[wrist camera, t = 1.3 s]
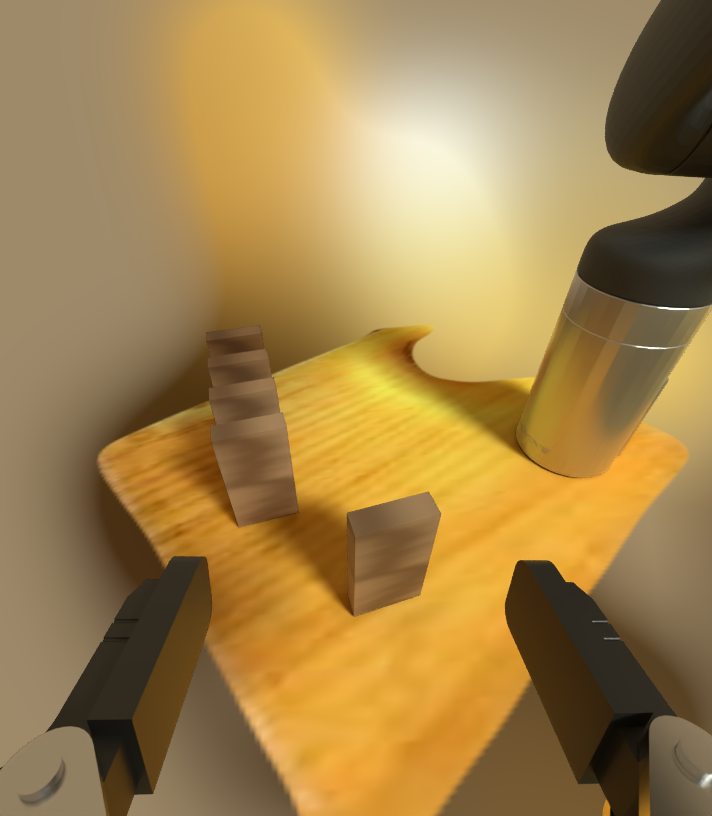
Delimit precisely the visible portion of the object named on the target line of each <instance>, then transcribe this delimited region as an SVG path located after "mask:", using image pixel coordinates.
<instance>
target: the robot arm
mask: <svg viewBox="0 0 712 816" xmlns="http://www.w3.org/2000/svg"><path fill="white" fill-rule="evenodd" d="M605 125H606V126H605V141H606V146H607V150H608V153H609V154H610V156H611V158H612V160H613V161H615V162H616V163H617V164H618V165H620V166H621V167H623V168H626V169H629V170H633V171H636V172H640V173H645V174H653V175H669V176H685V177H702V178H705V179H704V181H703V182H702V183H701V185H700V186H699V187H698V188H697V189H696V190H695V191H694V192H693V193H692V194H691V195H690V196H688V197H687V198H685V199H684V200H682V201H680V202H678V203H676V204H675V205H672V206H670V207H668V208H666V209H664V210H662V211H659V212H656V213H654V214H651V215H648V216H645V217H641V218H638V219H634V220H630V221H626V222H622V223H618V224H614V225H611V226H607V227H605V228H603V229H601V230H599V231H598V232H596V233H595V234H594V235H593V236H592V237H591V238H590V240H589V241H588V243H587V245H586V247H585V249H584V251H583V254H582V257H581V259H580V262H579V265H578V268H577V271H576V273H575V276H574V278H573V281H572V284H571V287H570V289H569V292H568V294H567V297H566V299H565V302H564V305H563V308H562V310H561V313H560V316H559V318H558V321H557V324H556V326H555V329H554V331H553V334H552V336H551V339H550V342H549V344H548V347H547V350H546V352H545V355H544V358H543V360H542V363H541V365H540V368H539V370H538V373H537V376H536V378H535V381H534V383H533V386H532V389H531V391H530V394H529V396H528V399H527V401H526V404H525V407H524V409H523V412H522V415H521V417H520V420H519V422H518V425H517V428H516V439H517V441H518V444H519V446H520V447H521V449H522V450H523V451H524V453H525V454H526V455H527V456H528V457H530V458H531V459H532V460H533V461H535V462H536V463H537V464H539V465H540V466H542V467H544V468H546V469H548V470H550V471H553V472H555V473H558V474H561V475H565V476H569V477H578V478H587V477H594V476H597V475H600V474H602V473H604V472H605V471H607V469H608V468H609V467H610V466H611V464H612V462H613V461H614V459H615V458H616V456H618V455H620V454H621V453H622V451H623V450H624V448H625V447H626V445H627V443H628V442H629V440H630V439H631V437H632V436H633V434H634V433H635V431H636V430H637V428H638V427H639V425H640V424H641V422H642V421H643V419H644V418H645V416H646V415H647V413H648V411H649V410H650V408H651V407H652V405H653V404H654V402H655V401H656V399H657V398H658V396H659V395H660V393H661V391H662V390H663V389H664V387H665V386H666V384H667V383H668V376H669V375H670V374H671V372H672V370H673V369H674V367H675V366H676V364H677V363H678V361H679V360H680V358H681V356H682V355H683V353H684V352H685V350H686V349H687V347H688V346H689V344H690V343H691V341H692V339H693V338H694V336H695V335H696V333H697V331H698V330H699V328H700V327H701V325H702V324H703V322H704V321H705V319H706V318H707V316H708V315H709V313H710V312H711V310H712V0H661V1H660V3H659V4H658V6H657V7H656V9H655V11H654V12H653V14H652V15H651V17H650V19H649V21H648V22H647V24H646V25H645V27H644V29H643V31H642V33H641V34H640V36H639V38H638V40H637V42H636V43H635V45H634V47H633V49H632V51H631V53H630V56H629V57H628V59H627V61H626V64H625V66H624V68H623V70H622V72H621V74H620V77H619V79H618V82H617V84H616V87H615V89H614V92H613V95H612V98H611V101H610V104H609V108H608V113H607V117H606V124H605ZM211 612H212V595H211V587H210V579H209V571H208V563H207V559H206V557H195V556H174V557H173V558H172V559H171V560H170V561H169V563H168V565H167V567H166V569H165V571H164V573H163V575H162V577H161V578H160V579H147V580H146V581H144V582H143V583H142V584H141V585H140V586H139V587H138V588H137V589H136V590H135V591H134V592H133V593H132V594H130V596H128V597H127V599H126V600H125V602H124V604H123V606H122V608H121V609H120V611H119V612H118V614H117V616H116V617H115V621H114V623H112V624H111V626H110V628H109V629H108V631H107V633H106V634H105V636H104V640H103V642H101V643H100V645H99V647H98V648H97V650H96V652H95V653H94V655H93V656H92V658H91V660H90V662H89V663H88V665H87V667H86V669H85V670H84V672H83V674H82V675H81V677H80V679H79V680H78V682H77V684H76V685H75V687H74V689H73V690H72V692H71V694H70V696H69V697H68V699H67V701H66V702H65V704H64V706H63V707H62V709H61V711H60V713H59V714H58V716H57V718H56V719H55V721H54V722H53V724H52V725H51V726H50V727H49V729H48V730H47V731H46V732H45V733H44V734H42V735H40V736H38V737H36V738H35V739H33V740H32V741H30V742H29V743H28V744H26V745H25V746H24V747H22V748H21V749H20V750H19V751H18V752H17V753H16V754H15V755H13V756H12V757H11V758H10V760H9V761H8V762H7V763H6V764H5V765H4V766H3V767H1V768H0V816H127V813H128V810H129V808H130V805H131V802H132V800H133V797H134V795H138V794H153V792H154V790H155V787H156V783H157V780H158V777H159V774H160V771H161V768H162V765H163V762H164V759H165V756H166V753H167V750H168V747H169V744H170V741H171V738H172V735H173V732H174V729H175V726H176V723H177V720H178V717H179V714H180V711H181V708H182V705H183V702H184V699H185V696H186V693H187V690H188V687H189V684H190V681H191V678H192V675H193V672H194V669H195V666H196V663H197V660H198V657H199V654H200V651H201V648H202V645H203V642H204V639H205V636H206V633H207V630H208V627H209V623H210V619H211ZM505 615H506V620H507V624H508V627H509V629H510V632H511V634H512V636H513V638H514V641H515V643H516V645H517V647H518V650H519V652H520V654H521V656H522V659H523V661H524V663H525V665H526V668H527V670H528V672H529V674H530V677H531V679H532V681H533V683H534V686H535V688H536V690H537V692H538V695H539V697H540V699H541V701H542V703H543V706H544V708H545V710H546V712H547V715H548V717H549V719H550V721H551V724H552V726H553V728H554V731H555V733H556V735H557V737H558V740H559V742H560V744H561V746H562V748H563V751H564V753H565V755H566V757H567V760H568V762H569V764H570V766H571V769H572V771H573V773H574V775H575V778H576V780H577V782H578V784H600V786H601V788H602V791H603V793H604V794H605V797H606V801H605V804H604V809H603V816H712V736H711V735H709V734H708V733H706V732H705V731H704V730H702V729H701V728H699V727H698V726H696V725H694V724H693V723H691V722H689V721H686V720H684V719H681V718H678V717H677V716H676V714H675V713H674V712H673V710H672V709H671V708H670V706H669V705H668V704H667V702H666V701H665V699H664V698H663V697H662V695H661V694H660V693H659V691H658V690H657V688H656V687H655V686H654V684H653V683H652V681H651V680H650V678H649V677H648V676H647V674H646V673H645V671H644V670H643V669H642V667H641V666H640V664H639V663H638V662H637V660H636V659H635V658H634V656H633V655H632V653H631V652H630V650H629V649H628V648H627V646H626V645H625V644H624V642H623V641H620V638H619V635H618V634H617V632H616V631H615V630H614V628H613V627H612V625H611V624H608V623H607V618H606V617H605V616H604V614H603V613H602V611H601V610H600V609H599V607H598V606H597V604H596V603H595V602H594V600H593V599H592V598H591V597H590V596H588V595H587V594H586V593H585V592H584V591H583V590H581V589H580V588H579V587H578V586H577V585H576V584H574V583H573V582H565V580H564V579H563V577H562V576H561V574H560V573H559V571H558V570H557V568H556V567H555V566H554V564H553V563H552V562H550V561H545V560H520V561H518V562H517V564H516V566H515V570H514V573H513V577H512V580H511V584H510V587H509V591H508V594H507V598H506V602H505Z"/></svg>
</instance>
